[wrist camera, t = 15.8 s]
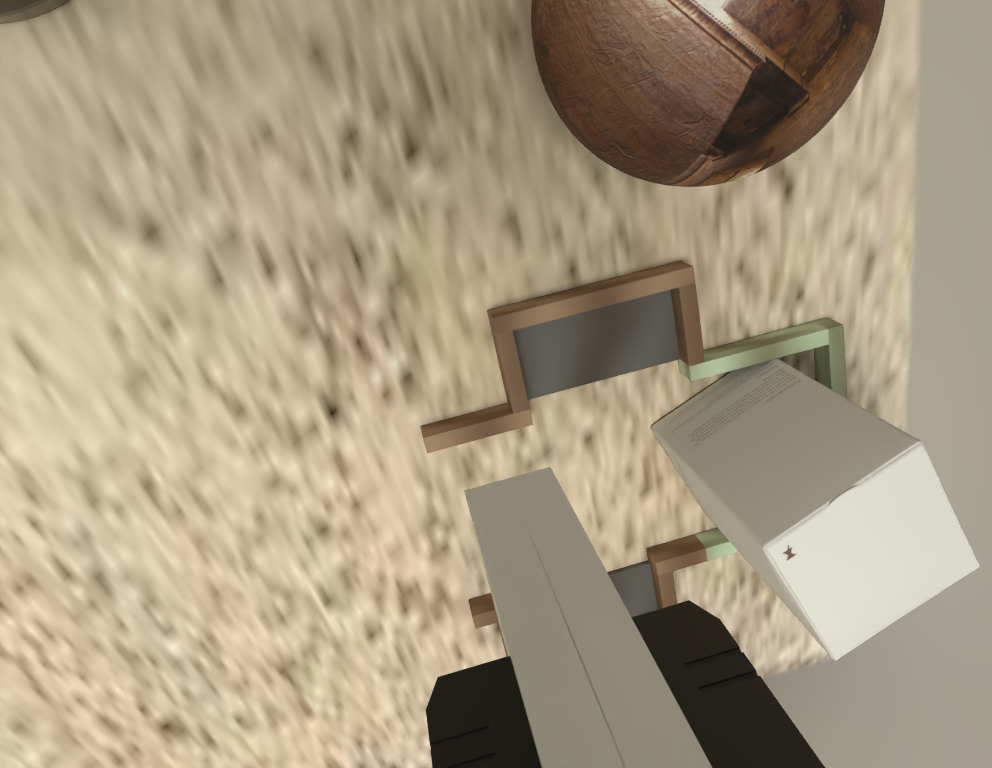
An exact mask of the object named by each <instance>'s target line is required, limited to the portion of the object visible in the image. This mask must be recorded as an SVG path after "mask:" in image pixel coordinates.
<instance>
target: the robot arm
mask: <svg viewBox="0 0 992 768" xmlns="http://www.w3.org/2000/svg"><path fill="white" fill-rule="evenodd" d="M68 1H69V0H0V23H10V22H16V21H22V20H26V19H30V18H33V17H36V16H39V15H42V14H45V13H47V12H49V11H51V10H54V9H56V8H58V7H59V6H61V5H63V4H65V3H66V2H68ZM465 495H466V499H467V503H468V507H469V510H470V514H471V518H472V522H473V526H474V529H475V533H476V537H477V541H478V545H479V549H480V552H481V556H482V560H483V564H484V568H485V571H486V575H487V579H488V583H489V587H490V591H491V594H492V598H493V602H494V606H495V610H496V613H497V617H498V621H499V625H500V628H501V632H502V636H503V639H504V643H505V646H506V650H507V654H508V657H504V658H501V659H498V660H494V661H491V662H487V663H484V664H481V665H477V666H474V667H471V668H467V669H464V670H460V671H457V672H454V673H450V674H447V675H444V676H440V677H438V678H437V681H436V684H435V686H434V689H433V692H432V695H431V697H430V700H429V703H428V706H427V708H426V715H427V723H428V732H429V740H430V746H431V757H432V766H433V768H825V767H824V766H823V764H822V763H821V761H820V760H819V759H818V757H817V756H816V754H815V753H814V751H813V750H812V749H811V747H810V746H809V745H808V743H807V742H806V740H805V739H804V738H803V736H802V735H801V733H800V732H799V730H798V729H797V728H796V726H795V725H794V723H793V722H792V720H791V719H790V718H789V716H788V715H787V713H786V712H785V711H784V709H783V708H782V706H781V705H780V704H779V702H778V701H777V699H776V698H775V697H774V695H773V694H772V692H771V691H770V690H769V688H768V687H767V685H766V684H765V682H764V681H763V680H762V678H761V677H760V676H758V675H757V673H756V670H755V668H754V667H753V665H752V664H751V663H750V661H749V660H748V658H747V657H746V656H745V654H744V653H741V651H740V648H739V646H738V644H737V643H736V641H735V640H734V639H733V637H732V636H731V634H730V633H729V632H728V630H727V629H726V627H725V626H724V625H723V623H722V622H721V620H720V619H718V618H717V617H715V616H713V615H712V614H710V613H709V612H707V611H705V610H704V609H702V608H701V607H699V606H697V605H696V604H694V603H692V602H691V601H689V600H688V601H685V602H682V603H678V604H675V605H672V606H668V607H665V608H661V609H658V610H655V611H651V612H648V613H644V614H641V615H638V616H634V617H631V616H630V614H629V612H628V610H627V609H626V607H625V605H624V603H623V601H622V599H621V597H620V596H619V594H618V592H617V590H616V588H615V586H614V584H613V583H612V581H611V579H610V577H609V575H608V573H607V571H606V570H605V568H604V566H603V564H602V562H601V560H600V558H599V557H598V555H597V553H596V551H595V549H594V547H593V545H592V544H591V542H590V540H589V538H588V536H587V534H586V532H585V531H584V529H583V527H582V525H581V523H580V521H579V519H578V518H577V516H576V514H575V512H574V510H573V508H572V506H571V505H570V503H569V501H568V499H567V497H566V495H565V493H564V492H563V490H562V488H561V486H560V484H559V482H558V480H557V479H556V477H555V475H554V473H553V471H552V469H551V468H550V467H548V468H544V469H541V470H537V471H534V472H530V473H526V474H523V475H519V476H515V477H512V478H508V479H505V480H501V481H497V482H494V483H490V484H486V485H483V486H479V487H476V488H472V489H468V490H465Z"/></svg>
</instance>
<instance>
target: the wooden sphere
mask: <svg viewBox="0 0 992 768" xmlns="http://www.w3.org/2000/svg"><path fill="white" fill-rule="evenodd" d="M884 5H885V0H532V9H531V24H532V38H533V46H534V52H535V57H536V62H537V66H538V70H539V73H540V76H541V79H542V82H543V85H544V87H545V90H546V92H547V94H548V96H549V98H550V101H551V102H552V104H553V106H554V108H555V110H556V111H557V113H558V115H559V116H560V118H561V119H562V121H563V122H564V123H565V125H566V126H567V127H568V129H569V130H570V131H571V132H572V134H573V135H574V136H575V137H576V138H577V139H578V140H579V141H580V142H581V143H582V144H583V145H584V146H585V147H586V148H587V149H588V150H590V151H591V152H592V153H593V154H595V155H596V156H597V157H598V158H600V159H601V160H603V161H604V162H606V163H607V164H609V165H611V166H612V167H614V168H616V169H618V170H620V171H622V172H624V173H626V174H629V175H631V176H634V177H636V178H639V179H642V180H645V181H649V182H653V183H658V184H663V185H671V186H683V187H696V186H708V185H716V184H721V183H726V182H730V181H734V180H738V179H741V178H744V177H747V176H750V175H752V174H755V173H757V172H760V171H762V170H764V169H766V168H768V167H770V166H772V165H774V164H776V163H778V162H779V161H781V160H783V159H784V158H786V157H788V156H789V155H790V154H792V153H793V152H795V151H796V150H798V149H799V148H800V147H802V146H803V145H804V144H805V143H807V142H808V141H809V140H810V139H811V138H813V137H814V136H815V135H816V134H817V133H818V132H819V131H820V130H821V129H822V128H823V127H824V126H825V125H826V124H827V123H828V122H829V121H830V120H831V119H832V117H833V116H834V115H835V114H836V113H837V111H838V110H839V109H840V108H841V106H842V105H843V104H844V102H845V101H846V99H847V98H848V97H849V95H850V94H851V92H852V90H853V89H854V87H855V86H856V84H857V82H858V80H859V79H860V77H861V75H862V73H863V71H864V69H865V67H866V65H867V63H868V60H869V58H870V56H871V53H872V51H873V48H874V45H875V42H876V39H877V36H878V33H879V29H880V25H881V21H882V16H883V11H884Z"/></svg>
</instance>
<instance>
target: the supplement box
mask: <svg viewBox="0 0 992 768" xmlns="http://www.w3.org/2000/svg"><path fill="white" fill-rule="evenodd" d="M651 430H652V432H653V433H654V435H655V437H656V438H657V440H658V441H659V443H660V444H661V446H662V447H663V449H664V450H665V452H666V454H667V455H668V457H669V458H670V460H671V461H672V463H673V464H674V466H675V468H676V469H677V471H678V472H679V474H680V475H681V477H682V479H683V480H684V482H685V483H686V485H687V486H688V488H689V489H690V491H691V493H692V494H693V496H694V497H695V499H696V500H697V502H698V504H699V505H700V506H701V508H702V509H703V511H704V512H705V514H706V515H707V516H708V517H709V518H710V520H711V521H712V522H713V523H714V524H715V525H716V526H717V528H718V529H719V530H720V531H721V532H722V533H723V534H724V536H725V537H726V538H727V539H728V540H729V541H730V542H731V544H732V545H733V546H734V547H735V548H736V549H737V550H738V552H739V553H740V554H741V555H742V556H743V557H744V558H745V560H746V561H747V562H748V563H749V564H750V565H751V566H752V567H753V569H754V570H755V571H756V572H757V573H758V574H759V575H760V576H761V578H762V579H763V580H764V581H765V582H766V583H767V584H768V585H769V587H770V588H771V589H772V590H773V591H774V592H775V593H776V595H777V596H778V597H779V598H780V599H781V600H782V601H783V603H784V604H785V605H786V606H787V607H788V608H789V609H790V611H791V612H792V613H793V614H794V615H795V616H796V617H797V618H798V620H799V621H800V622H801V623H802V624H803V625H804V626H805V628H806V629H807V630H808V631H809V632H810V633H811V635H812V636H813V637H814V638H815V639H816V640H817V642H818V643H819V644H820V645H821V646H822V647H823V648H824V650H825V651H826V652H827V653H828V654H829V655H830V656H831V657H832V658H833V659H834V660H837V659H839V658H840V657H842V656H843V655H845V654H846V653H848V652H849V651H851V650H852V649H854V648H855V647H857V646H858V645H860V644H861V643H863V642H864V641H866V640H867V639H869V638H870V637H872V636H873V635H875V634H876V633H878V632H879V631H881V630H882V629H884V628H885V627H887V626H888V625H890V624H891V623H893V622H894V621H896V620H898V619H899V618H901V617H902V616H904V615H905V614H907V613H908V612H910V611H912V610H913V609H915V608H916V607H918V606H919V605H921V604H922V603H924V602H925V601H927V600H928V599H930V598H931V597H933V596H935V595H936V594H938V593H939V592H941V591H942V590H944V589H945V588H947V587H948V586H950V585H952V584H953V583H955V582H956V581H958V580H959V579H961V578H962V577H964V576H965V575H967V574H968V573H970V572H972V571H973V570H975V569H976V568H978V567H979V564H978V562H977V560H976V558H975V556H974V553H973V551H972V549H971V547H970V545H969V543H968V541H967V538H966V537H965V534H964V532H963V531H962V529H961V527H960V524H959V523H958V520H957V518H956V516H955V514H954V512H953V510H952V507H951V505H950V503H949V501H948V499H947V496H946V494H945V492H944V490H943V488H942V485H941V483H940V481H939V478H938V476H937V474H936V472H935V470H934V468H933V465H932V463H931V461H930V459H929V456H928V454H927V452H926V449H925V447H924V445H923V442H922V441H921V440H919V439H917V438H914V437H912V436H911V435H909V434H907V433H905V432H904V431H902V430H900V429H898V428H896V427H895V426H893V425H891V424H889V423H888V422H886V421H884V420H882V419H881V418H879V417H877V416H876V415H874V414H872V413H870V412H869V411H867V410H865V409H863V408H862V407H860V406H858V405H857V404H855V403H853V402H851V401H850V400H848V399H846V398H844V397H843V396H841V395H839V394H838V393H836V392H834V391H832V390H831V389H829V388H827V387H826V386H824V385H822V384H820V383H819V382H817V381H815V380H814V379H812V378H810V377H808V376H807V375H805V374H803V373H802V372H800V371H798V370H796V369H795V368H793V367H791V366H790V365H788V364H786V363H784V362H783V361H781V360H779V359H778V358H777V359H773V360H769V361H766V362H762V363H758V364H754V365H751V366H747V367H743V368H740V369H736V370H733V371H731V372H730V373H728V374H727V375H726V376H724V377H723V378H721V379H720V380H718V381H717V382H715V383H714V384H712V385H711V386H709V387H708V388H706V389H705V390H703V391H702V392H701V393H699V394H698V395H696V396H695V397H693V398H692V399H690V400H689V401H687V402H686V403H684V404H683V405H681V406H680V407H679V408H677V409H676V410H674V411H673V412H671V413H670V414H668V415H667V416H665V417H664V418H662V419H661V420H660V421H658V422H657V423H655V424H654V425H653V426H652V427H651Z"/></svg>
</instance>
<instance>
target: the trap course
mask: <svg viewBox="0 0 992 768" xmlns="http://www.w3.org/2000/svg"><path fill="white" fill-rule="evenodd" d="M487 313H488V317H489V321H490V326H491V330H492V335H493V339H494V343H495V348H496V352H497V357H498V361H499V365H500V370H501V374H502V379H503V383H504V387H505V392H506V396H507V401H508V403H506V404H503V405H499V406H495V407H491V408H488V409H484V410H480V411H476V412H473V413H469V414H465V415H461V416H458V417H454V418H450V419H447V420H443V421H439V422H435V423H432V424H428V425H424V426H421V430H422V435H423V439H424V443H425V447H426V450H427V453H430V452H433V451H437V450H441V449H444V448H448V447H452V446H456V445H459V444H463V443H467V442H470V441H474V440H478V439H481V438H485V437H489V436H492V435H496V434H500V433H504V432H507V431H511V430H515V429H518V428H522V427H526V426H529V425H533V422H532V417H531V412H530V408H529V403H528V400H529V399H532V398H536V397H540V396H544V395H547V394H551V393H555V392H558V391H562V390H566V389H570V388H573V387H577V386H581V385H585V384H588V383H592V382H596V381H599V380H603V379H607V378H611V377H614V376H618V375H622V374H626V373H629V372H633V371H637V370H640V369H644V368H648V367H652V366H655V365H659V364H663V363H667V362H670V361H674V360H678V362H679V370H680V373H681V374H683V375H684V376H685V377H686V378H688V379H689V380H690V381H691V382H692V381H695V380H699V379H703V378H706V377H710V376H714V375H718V374H721V373H725V372H729V371H732V370H736V369H740V368H743V367H747V366H751V365H754V364H758V363H762V362H766V361H769V360H773V359H777V358H780V357H784V356H788V355H791V354H795V353H799V352H802V351H806V350H810V349H813V348H814V356H815V371H816V381H817V382H819V383H820V384H822V385H824V386H826V387H827V388H829V389H831V390H832V391H834V392H836V393H838V394H839V395H841V396H843V397H844V398H846V399H847V386H846V367H845V348H844V329H843V325H842V324H840V323H838V322H835V321H833V320H831V319H829V318H824V319H820V320H816V321H812V322H809V323H805V324H801V325H797V326H794V327H790V328H786V329H782V330H779V331H775V332H771V333H768V334H764V335H760V336H756V337H753V338H749V339H745V340H741V341H738V342H734V343H730V344H726V345H723V346H719V347H715V348H712V349H708V350H704V351H703V342H702V334H701V326H700V318H699V310H698V302H697V294H696V286H695V278H694V270H693V266H691V265H689V264H687V263H685V262H683V261H678V262H674V263H670V264H666V265H662V266H658V267H655V268H651V269H647V270H643V271H639V272H635V273H631V274H627V275H623V276H620V277H616V278H612V279H608V280H604V281H600V282H596V283H592V284H589V285H585V286H581V287H577V288H573V289H569V290H565V291H561V292H557V293H554V294H550V295H546V296H542V297H538V298H534V299H530V300H526V301H522V302H519V303H515V304H511V305H507V306H503V307H499V308H495V309H491V310H487ZM737 552H738V550H737V549H736V548H735V547H734V546H733V545H732V544H731V542H730V541H729V540H728V539H727V538H726V537H725V536H724V534H723V533H722V532H721V531H720V530H719V529H718V528H716V529H713V530H709V531H706V532H702V533H699V534H695V535H692V536H688V537H685V538H681V539H678V540H674V541H671V542H667V543H664V544H661V545H657V546H654V547H650V548H647V555H648V561H646V562H642V563H639V564H635V565H632V566H629V567H625V568H622V569H618V570H615V571H611V572H608V575H609V577H610V579H611V581H612V583H613V584H614V586H615V588H616V590H617V592H618V594H619V596H620V597H621V599H622V601H623V603H624V605H625V607H626V609H627V610H628V612H629V614H630V616H631V617H634V616H638V615H641V614H644V613H648V612H651V611H655V610H658V609H661V608H665V607H668V606H672V605H675V604H677V599H676V593H675V586H674V580H673V574H672V571H675V570H678V569H682V568H685V567H689V566H692V565H695V564H699V563H702V562H706V561H709V560H713V559H716V558H719V557H723V556H726V555H730V554H733V553H737ZM469 604H470V608H471V613H472V617H473V621H474V624H475V628H479V627H483V626H486V625H490V624H493V623H497V622H498V625H499V621H498V617H497V613H496V610H495V606H494V602H493V598H492V594H487V595H484V596H480V597H477V598H473V599H470V600H469ZM499 629H500V633H501V636H502V632H501V628H500V625H499ZM502 640H503V644H504V648H505V652H506V655H507V657H508V654H507V650H506V646H505V643H504V639H503V636H502Z"/></svg>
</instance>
